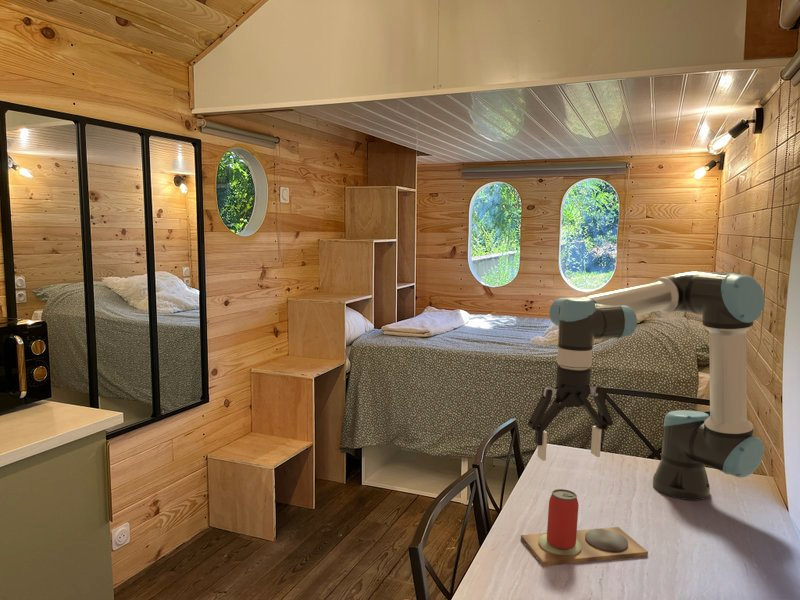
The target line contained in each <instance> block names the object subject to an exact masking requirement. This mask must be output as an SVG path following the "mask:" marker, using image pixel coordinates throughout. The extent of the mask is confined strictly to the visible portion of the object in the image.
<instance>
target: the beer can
mask: <svg viewBox="0 0 800 600" xmlns="http://www.w3.org/2000/svg"><path fill="white" fill-rule="evenodd" d="M578 500H579V499H578V496H577V494H576V493H575V491H572V490H569V489H565V488H564V489H563V488H557V489H554V490H552V492H551V495H550V498H549V500H548V513H547V524H546V525H547V526H546V527H547V528H546V529H547V530H546V533H547V541H548V543H549V544H550V545H551V546H553V547H555V548H558V549H564V550H567V549H571V548H573V547H574V546H575V545H576V535H577V530H578V522H579V521H578V519H579V501H578Z"/></svg>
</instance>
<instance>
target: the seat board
mask: <svg viewBox="0 0 800 600" xmlns="http://www.w3.org/2000/svg"><path fill="white" fill-rule="evenodd" d="M520 540H521V542H523V544H524V545H525V546H526V547H527V548H528V550H529V551H530V552H531V553H532V554H533V556H534V557H535V558H536V560H538V562H539V563H540V564H541V566H543V567H545V566H546V567H547V566H558V565H568V564H569V565H570V564H579V563H588V562H598V561H610V560H619V559H631V558H640V557H648V555H649V551H648V550H647V549H645V548H644V547H643V546H642V545H640V543H638V542H637V541H636V540H635V539H633V538H632V537H631V536H630V535H629V534H627V533H626V531H624V530H623V529H621V528H620V527H619V526H613V527H612V526H611V527H603V528H591V529H589V528H587V529H581V530H580V529H577V535H576V545H575V546H574V547H573V548H571V549H567V550H564V549H558V548H555V547H553V546H551V545H550V544H549V543H548V541H547V532H543V533H531V534H521V535H520Z"/></svg>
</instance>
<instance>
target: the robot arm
mask: <svg viewBox="0 0 800 600" xmlns="http://www.w3.org/2000/svg"><path fill="white" fill-rule="evenodd" d="M764 309H765V294H764V290H763V288H762V286H761V284H760V283H759V282H758V281H757V280H756V279H755V278H754V277H752V276H750V275H745V274H740V273H736V272H721V271H706V270H705V271H704V270H692V271H690V270H689V271H684V272H680V273H675V274H671V275H667V276H662V277H657V278H656V279H655V280H653V281H652V282H651V283H647V284H641V285H637V286H632V287H627V288H623V289H617V290H612V291H607V292H603V293H598V294H592V295H587V296H583V297H560V298H556V299H555V300H554V301H553V302H552V303H551V305H550V307H549V312H548V313H549V314H548V315H549V319H550V321H551V322H552V324H554V325H555V326H558V336H557V337H558V340H557V341H558V342H557V356H556V357H557V359H556V362H557V364H558V365H557V367H556V374H555V381H556V386H555V388H549V387H548V386H544V387H542V390H541V391H542V392H541V397H540V398H539V400H538V402H537V404H536V406H535V407H534V408H535V409H534V410H533V411H532V414H531V416H530V418H529V419H528V421H527V426H528V427H529V428H530V429H531V430H533V431H534V432H535V435H534V442H535V444H536V445H537V454H536V455H537V457H538V458H539V459H540V460H541V461H547V445H548V444H547V443H548V432H547V431H546V430H547V428H548V426H549V425H550V424H551V423H552V421H553V420H555V418H556V417H557V415H558V414H559V413H561V411H563V410H564V409H565V408H568V409H569V408H570V409H571V408H573V407H575V408H580V407H582V408H583V409H584V411H585V412H586V413H587V414H588V416H589V417H590V419H591V420H592V421H593V422H594V424H595V425H592V427H591V429H592V430H591V445H590V453H591V454H592V455H594V456H595V457H596V458H599V457H601V445H602V444H601V443H602V442H604V439H605V431H607V430H608V428H609V426H613V425H614V421H613V419H612V416H611V414H610V411H609V409H608V406H607V404H606V401H605V398H604V395H603V387H600V386H599V385H597V384H592V386H590V385H591V377H592V376H591V375H592V369H591V368H590V367H592V366H593V365H592V364H593V363H592V362H593V346H594V345H593V344H594V340H603V339H604V340H605V339H621V338H627V337H630V336H631V335H633V334H634V333H635V331H636V329H637V326H638V318H637V316H641V315H644V314H648V313H649V314H651V313H654V312H657V311H659V312H661V313H670V312H681V313H682V312H683V313H691V314H696V315H700V316H702V326H703V327H704V328H705V329H706V330H707V331H708V337H709V338H708V340H709V341H708V342H709V345H708V346H709V348H708V349H709V351H708V352H709V408H710V409H709V413H706V412H703V411H696V410H686V409H685V410H683V409H681V410H680V409H678V410H671V411H669V412H667V413H665V415H664V421H663V422H664V423H663V427H662V428H663V430H662V443H661V456H660V458H661V459H660V462H659V463H658V466H657V468H656V471H655V473H654V475H653V476H652V487H653V488H655V490H657V491H658V492H660V493H662V494H664V495H667V496H670V497H674V498H678V499H681V500H690V501H692V500H693V501H697V500H698V501H699V500H705V499H707V498H709V497H710V492H711V484H710V483H709V478H708V474H707V471H706V466H708V467H710V468H713V469H715V470H717V471H720V472H722V473H723V474H725V475H730V476H733V477H736V478H746V477H748V476H750V475H753V474H752V473H754V472H755V471H756V470H757V469H758V467H759V466H760V464H761V462H762V460H763V458H764V453H765V445H764V442H763V441H762V440H761V438H759V437H757V436H756V435H754V424H753V423H752V422H751V421H750V420H748V417H747V416H748V415H747V413H748V412H747V409H748V407H747V405H748V404H747V403H748V402H747V399H748V397H747V396H748V393H747V390H748V389H747V385H748V383H747V372H748V371H747V366H748V365H747V361H748V360H747V355H748V354H747V332H748V331H749V330H750V329H752V327H754V322H755V321H757V320H758V319H759V318H760V317H761V315H762V314H763V312H762V311H763V310H764ZM590 395H591V396H592V398H593V400H594V403H595V405H596V408H597V409H598V410H597V411H598V412H597V411H596V410H595V408H593V406H592V404H591V402H590V401H589V400H588V398H589V396H590ZM554 396H556V397H555V398H554ZM553 398H554V400H553V401H552V399H553ZM551 401H552V402H551ZM550 403H552V404H551V405H550ZM549 406H550V407H549ZM598 413H599V414H598Z"/></svg>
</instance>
